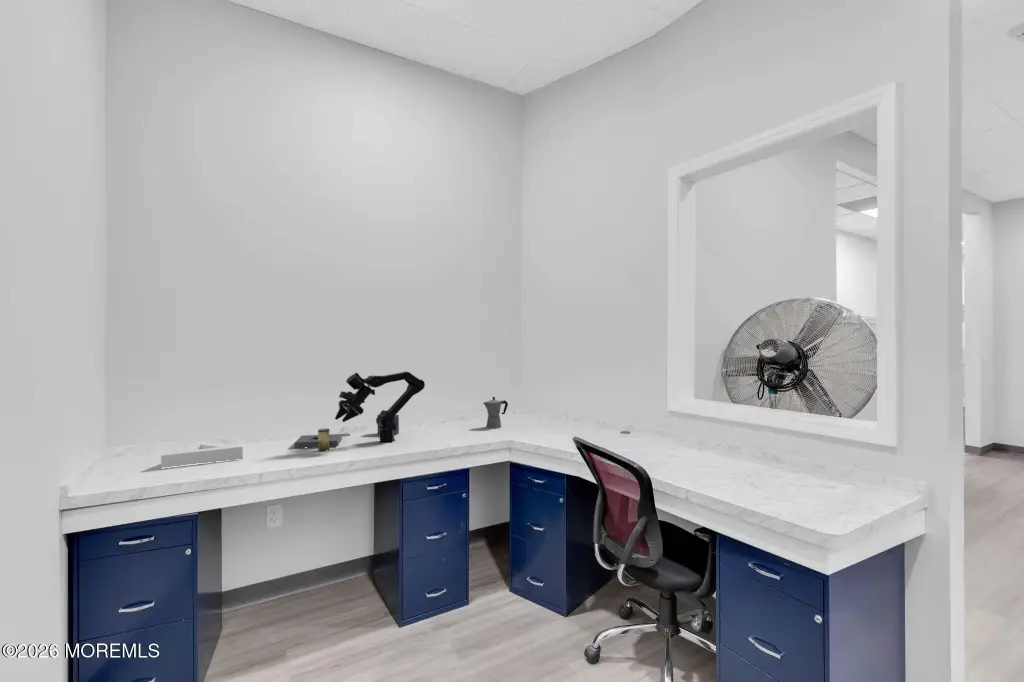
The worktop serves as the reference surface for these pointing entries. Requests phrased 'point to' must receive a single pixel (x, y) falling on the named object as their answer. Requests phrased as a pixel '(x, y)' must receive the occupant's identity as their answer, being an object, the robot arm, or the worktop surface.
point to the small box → (396, 422)
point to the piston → (323, 439)
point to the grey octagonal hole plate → (313, 441)
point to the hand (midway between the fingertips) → (339, 420)
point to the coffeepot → (494, 412)
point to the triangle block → (201, 454)
